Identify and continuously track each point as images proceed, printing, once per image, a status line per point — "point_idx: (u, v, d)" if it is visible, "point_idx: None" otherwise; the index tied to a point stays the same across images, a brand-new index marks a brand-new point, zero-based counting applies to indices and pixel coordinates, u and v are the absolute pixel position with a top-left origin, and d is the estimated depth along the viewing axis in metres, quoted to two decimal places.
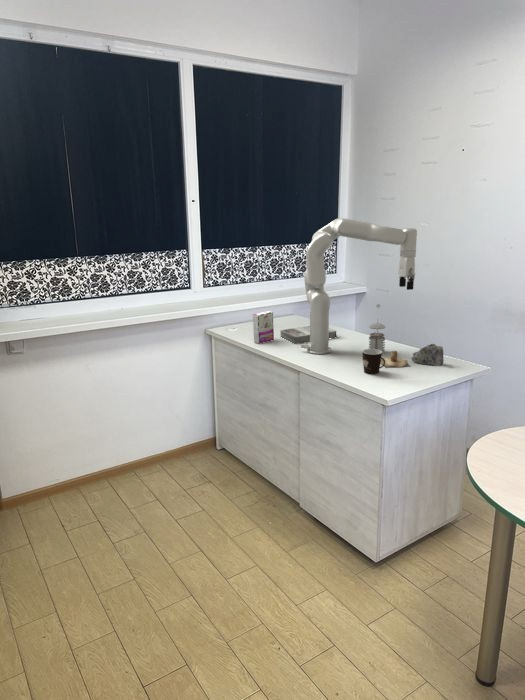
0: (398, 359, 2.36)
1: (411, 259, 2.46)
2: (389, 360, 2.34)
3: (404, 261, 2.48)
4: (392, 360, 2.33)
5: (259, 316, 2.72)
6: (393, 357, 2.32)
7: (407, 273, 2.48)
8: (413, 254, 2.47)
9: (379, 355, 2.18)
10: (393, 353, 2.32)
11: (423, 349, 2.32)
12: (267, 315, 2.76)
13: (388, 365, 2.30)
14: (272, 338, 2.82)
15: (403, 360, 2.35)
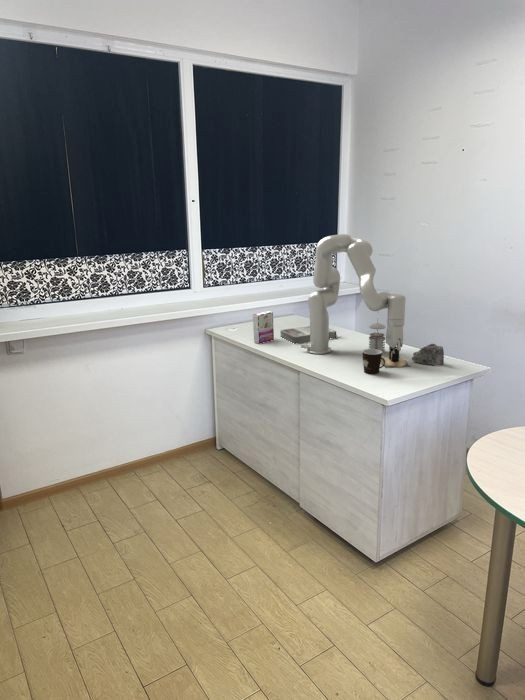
0: None
1: (399, 329, 2.25)
2: (389, 360, 2.35)
3: (391, 330, 2.27)
4: None
5: (259, 316, 2.72)
6: None
7: (395, 344, 2.27)
8: (401, 323, 2.26)
9: (379, 355, 2.18)
10: None
11: (423, 349, 2.33)
12: (267, 315, 2.76)
13: (388, 365, 2.30)
14: (272, 338, 2.82)
15: (403, 360, 2.35)
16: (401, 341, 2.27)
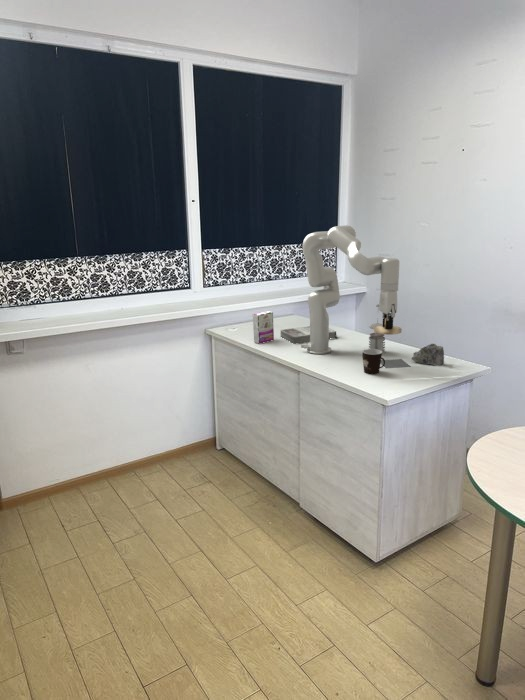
0: None
1: (393, 294, 2.16)
2: (382, 328, 2.25)
3: (385, 296, 2.17)
4: None
5: (259, 316, 2.72)
6: None
7: (389, 309, 2.17)
8: (395, 288, 2.16)
9: (379, 355, 2.18)
10: None
11: (423, 349, 2.33)
12: (267, 315, 2.76)
13: (382, 332, 2.20)
14: (272, 338, 2.82)
15: (397, 328, 2.25)
16: (395, 307, 2.17)
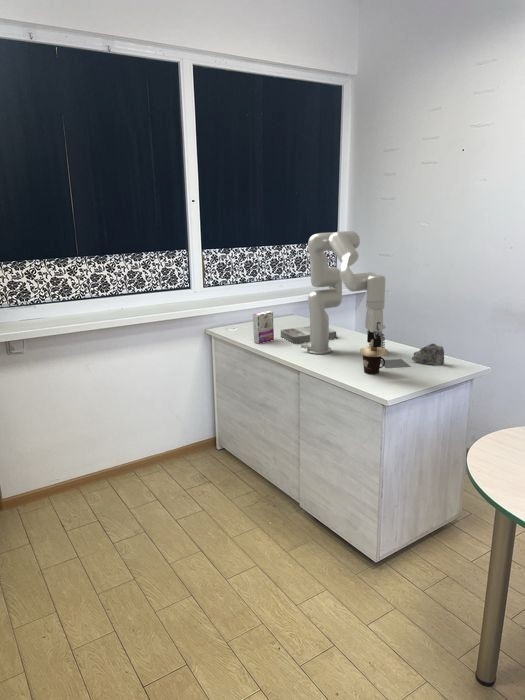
0: (378, 349, 2.20)
1: (379, 312, 2.10)
2: (368, 350, 2.19)
3: (371, 313, 2.11)
4: (372, 349, 2.18)
5: (259, 316, 2.72)
6: None
7: (374, 328, 2.11)
8: (381, 306, 2.10)
9: None
10: None
11: (423, 349, 2.33)
12: (267, 315, 2.76)
13: (367, 354, 2.15)
14: (272, 338, 2.82)
15: (384, 349, 2.19)
16: (381, 325, 2.11)
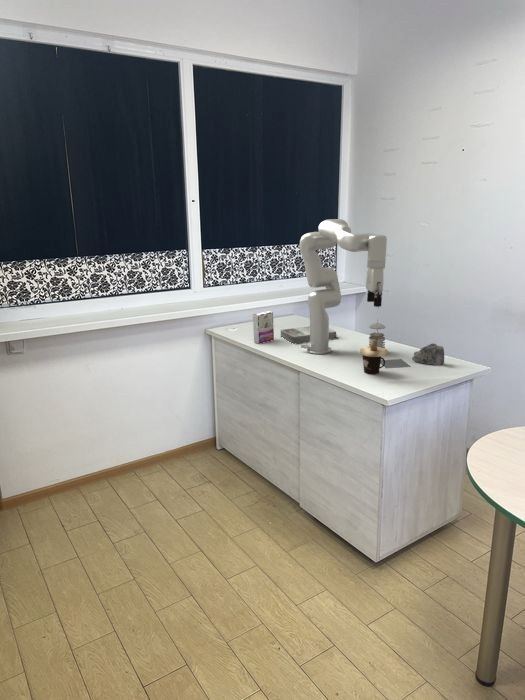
0: (378, 349, 2.20)
1: (379, 271, 2.11)
2: (368, 350, 2.19)
3: (371, 273, 2.13)
4: (372, 349, 2.18)
5: (259, 316, 2.72)
6: (373, 346, 2.17)
7: (374, 287, 2.12)
8: (382, 265, 2.11)
9: None
10: (373, 342, 2.17)
11: (424, 348, 2.33)
12: (267, 315, 2.76)
13: (367, 354, 2.15)
14: (272, 338, 2.82)
15: (384, 349, 2.19)
16: (381, 285, 2.12)
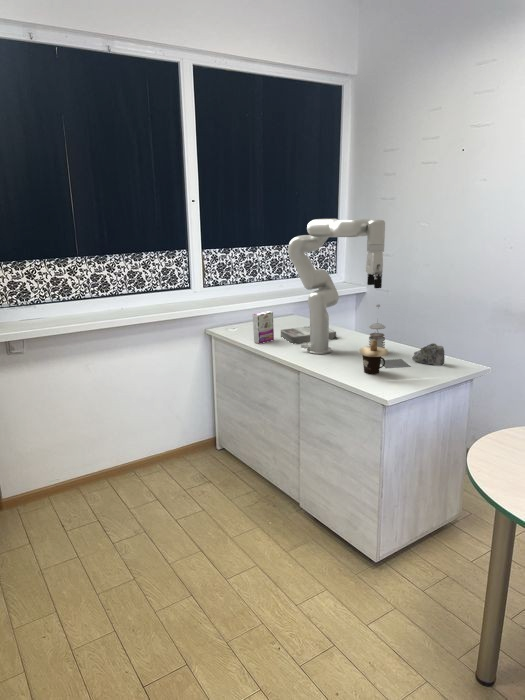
0: (378, 349, 2.20)
1: (379, 254, 2.20)
2: (368, 350, 2.19)
3: (371, 256, 2.22)
4: (372, 349, 2.18)
5: (259, 316, 2.72)
6: (372, 346, 2.17)
7: (374, 270, 2.21)
8: (381, 248, 2.21)
9: None
10: (373, 342, 2.17)
11: (424, 348, 2.33)
12: (267, 315, 2.76)
13: (367, 354, 2.15)
14: (272, 338, 2.82)
15: (383, 349, 2.19)
16: (381, 267, 2.22)
